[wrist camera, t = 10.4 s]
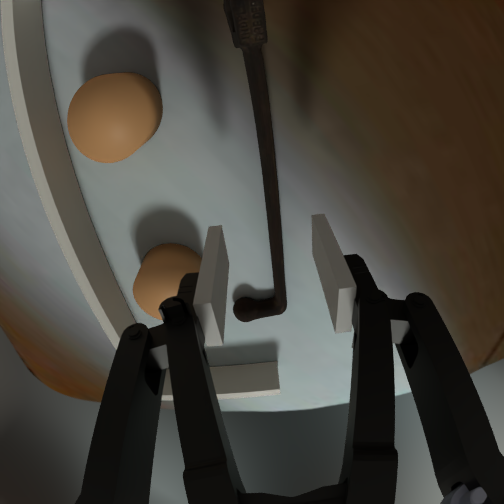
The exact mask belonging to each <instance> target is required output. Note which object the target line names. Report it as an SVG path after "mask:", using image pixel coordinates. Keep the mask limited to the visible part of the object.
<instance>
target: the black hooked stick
mask: <svg viewBox="0 0 504 504" xmlns="http://www.w3.org/2000/svg"><path fill="white" fill-rule="evenodd" d="M224 11H225V14H226V17H227V20H228V24H229V27H230V31H231V34H232V38H233V43H234V46H235V47H236V48H241V49H242V51H243V56H244V61H245V67H246V72H247V77H248V83H249V88H250V94H251V100H252V105H253V111H254V117H255V123H256V130H257V138H258V145H259V152H260V159H261V166H262V175H263V184H264V193H265V202H266V211H267V220H268V230H269V240H270V249H271V259H272V269H273V279H274V289H275V295H274V296H273V297H272V298H269V299H265V300H260V301H255V300H253V299H250V298H247V297H245V298H240V299H238V300H237V301H236V302H235V304H234V306H233V312H234V315H235V317H236V318H237V319H238V320H240V321H242V322H249V321H252V320H255V319H259V318H264V317H269V316H274V315H280V314H282V313H283V312H284V311H285V310H286V308H287V300H286V299H287V298H286V291H285V274H284V258H283V244H282V229H281V216H280V204H279V191H278V180H277V169H276V159H275V149H274V139H273V130H272V121H271V112H270V103H269V96H268V89H267V82H266V75H265V69H264V63H263V57H262V53H261V45H262V44H265V43H267V30H266V20H265V12H264V6H263V0H224Z"/></svg>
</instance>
